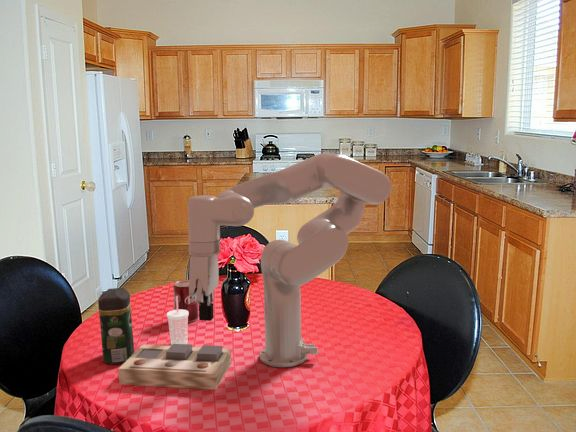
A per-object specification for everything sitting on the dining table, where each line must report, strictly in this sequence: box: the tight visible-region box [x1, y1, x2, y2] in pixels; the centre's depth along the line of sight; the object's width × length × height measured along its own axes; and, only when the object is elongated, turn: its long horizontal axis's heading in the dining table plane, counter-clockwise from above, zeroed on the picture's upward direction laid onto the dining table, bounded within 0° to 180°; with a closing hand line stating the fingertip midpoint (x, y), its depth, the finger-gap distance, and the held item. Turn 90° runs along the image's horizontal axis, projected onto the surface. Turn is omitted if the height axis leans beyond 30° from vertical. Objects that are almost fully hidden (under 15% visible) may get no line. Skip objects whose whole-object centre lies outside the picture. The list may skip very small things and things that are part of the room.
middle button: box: [166, 343, 193, 360], centre depth 134 cm, size 5×5×3 cm
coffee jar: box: [97, 287, 135, 365], centre depth 141 cm, size 10×8×19 cm
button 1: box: [137, 350, 162, 359], centre depth 135 cm, size 5×5×3 cm
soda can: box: [172, 279, 199, 324], centre depth 168 cm, size 7×7×12 cm
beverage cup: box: [166, 296, 189, 346], centre depth 150 cm, size 6×6×14 cm
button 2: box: [197, 344, 223, 362], centre depth 133 cm, size 5×5×3 cm
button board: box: [118, 344, 232, 391], centre depth 132 cm, size 24×14×4 cm, turn 82°
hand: (206, 319), depth 131 cm, fingers closed
